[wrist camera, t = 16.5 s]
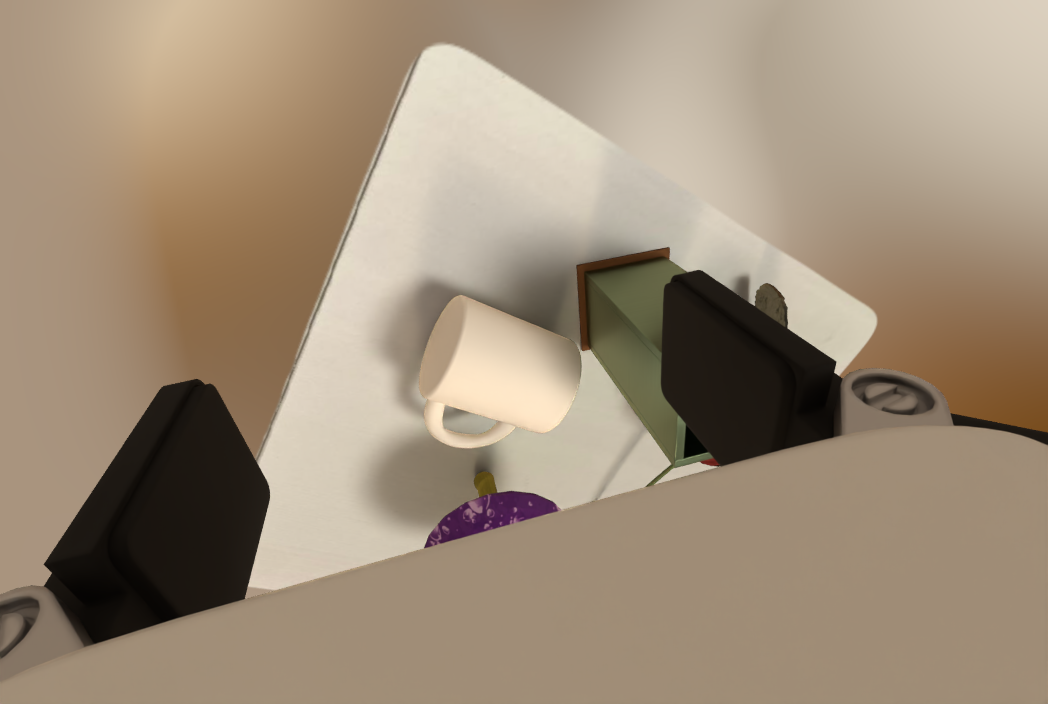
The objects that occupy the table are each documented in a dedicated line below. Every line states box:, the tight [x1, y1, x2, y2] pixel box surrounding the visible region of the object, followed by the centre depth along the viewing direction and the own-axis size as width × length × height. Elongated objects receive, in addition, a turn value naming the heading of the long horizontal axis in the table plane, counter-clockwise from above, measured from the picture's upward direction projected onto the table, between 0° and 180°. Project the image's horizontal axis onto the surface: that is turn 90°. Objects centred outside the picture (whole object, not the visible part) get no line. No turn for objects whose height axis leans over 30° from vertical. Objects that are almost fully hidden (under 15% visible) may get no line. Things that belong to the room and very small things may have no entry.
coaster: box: [577, 248, 670, 351], centre depth 43 cm, size 8×8×1 cm
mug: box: [419, 295, 581, 448], centre depth 40 cm, size 12×10×8 cm
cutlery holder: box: [584, 256, 713, 468], centre depth 36 cm, size 7×7×16 cm
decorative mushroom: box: [424, 472, 561, 548], centre depth 43 cm, size 12×12×15 cm
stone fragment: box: [755, 283, 788, 328], centre depth 45 cm, size 10×1×5 cm, turn 7°
